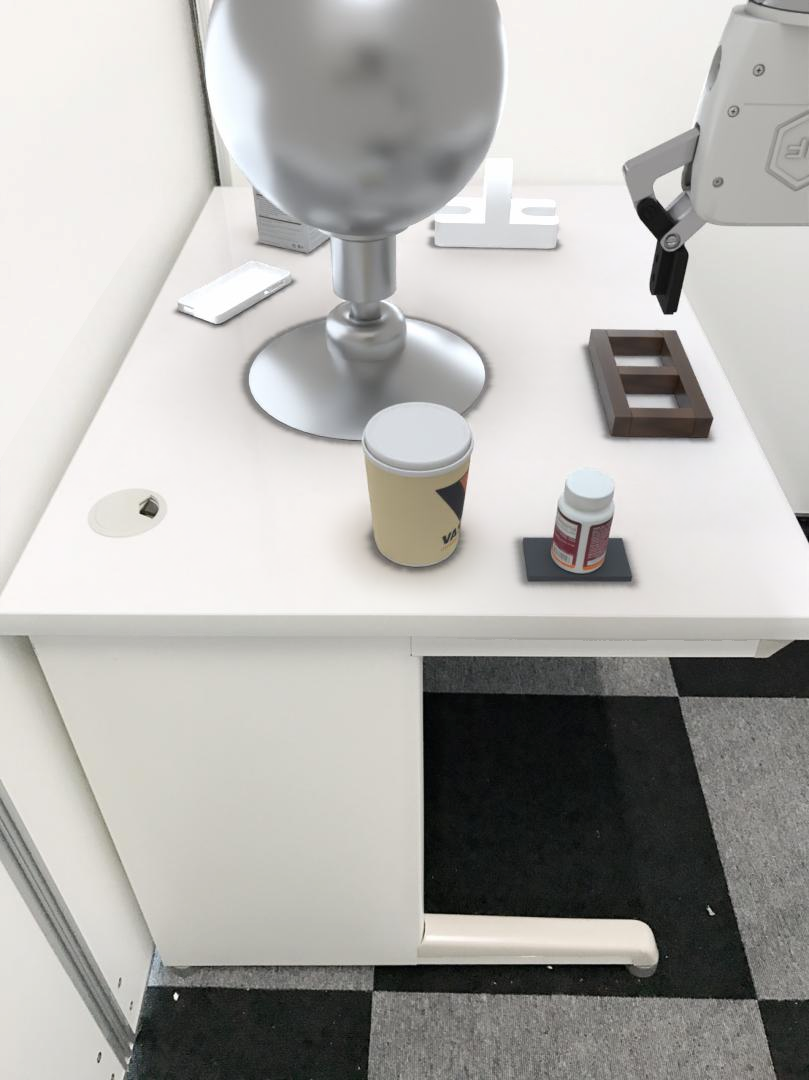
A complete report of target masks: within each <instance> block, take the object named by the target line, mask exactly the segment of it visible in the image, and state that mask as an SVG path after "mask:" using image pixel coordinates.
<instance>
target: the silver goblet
mask: <svg viewBox="0 0 809 1080" xmlns="http://www.w3.org/2000/svg"><path fill="white" fill-rule="evenodd" d="M208 15H209V16H208V20H207V26H206V32H205V40H204V75H205V83H206V91H207V97H208V101H209V106H210V109H211V112H212V116H213V119H214V123H215V125H216V128H217V131H218V133H219V135H220V138H221V139H222V142H223V144H224V146H225V148H226V150H227V152H228V153H229V156H230V157H231V158H232V160H233V162H234V164H235V165H236V167H237V168H238V170H239V171H240V172H241V173H242V175H243V176H244V177H245V179H246V180H247V181H248V183H250V185H251V186H252V185H253V187H254V188H255V189H256V190H257V191H258V192H259V193H260V194H261V195H262V196H263V197H265V198H266V199H267V200H268V201H269V202H270V203H272V204H273V205H274V206H276V207H277V208H278V209H280V210H281V211H283V212H284V213H286V214H287V215H289V216H291V217H292V218H294V219H296V220H298V221H300V222H302V223H304V224H307V225H309V226H312V227H314V228H316V229H318V230H319V231H320V232H322V233H324V234H326V235H328V236H330V238H329V247H330V262H331V263H330V264H331V280H332V292H333V294H334V295H335V296H336V297H338V298H339V299H341V300H344V301H342V302H341V303H339V304H337V305H336V306H335V307H333V309H332V310H330V312H328V314H327V316H326V319H322V320H318V321H314V322H311V323H308V324H304V325H302V326H299V327H296V328H294V329H292V330H289V331H288V332H285V333H283V334H281V335H280V336H279V337H277V338H276V339H273V340H272V341H271V342H270V343H268V344H267V345H266V346H264V348H263V349H262V350H261V351H260V352H259V353H258V355H257V356H256V357H255V359H254V360H253V362H252V364H251V367H250V368H249V374H248V386H249V389H250V392H251V394H252V396H253V399H254V400H255V401H256V403H257V404H258V405H259V407H260V408H262V410H263V411H265V412H266V413H267V414H268V415H270V416H271V417H273V418H274V419H275V420H277V421H279V422H281V423H283V424H285V425H287V426H288V427H291V428H293V429H296V430H299V431H302V432H304V433H309V434H311V435H316V436H320V437H325V438H331V439H340V440H349V441H362V434H363V431H364V429H365V428H366V426H367V424H368V422H369V420H370V419H371V418H372V417H373V416H374V415H376V414H377V413H378V412H380V411H381V410H383V409H385V408H388V407H390V406H393V405H397V404H402V403H409V402H425V403H433V404H438V405H441V406H445V407H447V408H450V409H452V410H454V411H455V412H457V413H458V414H460V415H462V414H463V413H464V412H465V411H467V410H468V409H469V408H470V407H472V405H473V404H474V403H475V401H476V400H478V398H479V396H480V394H481V393H482V391H483V388H484V385H485V382H486V370H485V365H484V363H483V360H482V358H481V357H480V355H479V354H478V352H477V351H476V350H475V348H473V347H472V345H471V344H470V343H468V341H466V340H465V339H464V338H462V337H460V336H459V335H457V334H455V333H454V332H452V331H450V330H448V329H445V328H443V327H441V326H438V325H436V324H433V323H429V322H426V321H423V320H419V319H416V318H409V317H405V314H404V313H403V311H402V310H401V309H400V308H399V307H397V306H396V305H395V304H393V303H392V302H391V301H388V300H387V299H389V298H390V297H392V296H393V295H394V294H395V293H396V291H397V235H399V234H401V233H403V232H404V231H406V230H407V229H408V228H409V227H411V226H413V225H415V224H418V223H420V222H422V221H424V220H425V219H428V218H429V217H431V216H433V215H434V214H436V212H437V211H438V210H440V209H441V208H442V207H444V206H445V205H446V204H447V203H449V202H450V201H451V200H452V199H453V198H456V197H457V196H458V195H459V194H460V192H462V191H463V190H464V188H465V187H466V186H467V185H468V184H469V182H470V181H471V180H472V179H473V177H474V176H475V175H476V174H477V172H478V170H479V169H480V167H481V165H482V164H483V162H484V160H486V157H487V155H488V153H489V152H490V149H491V147H492V146H493V142H494V140H495V137H496V136H497V133H498V129H499V126H500V123H501V119H502V116H503V112H504V108H505V103H506V96H507V89H508V78H509V77H508V75H509V59H508V57H509V56H508V46H507V45H508V44H507V38H506V37H507V36H506V32H505V27H504V22H503V17H502V14H501V11H500V8H499V3H498V2H497V0H213V1H212V4H211V7H210V11H209V14H208Z"/></svg>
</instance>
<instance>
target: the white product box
mask: <svg viewBox="0 0 809 1080" xmlns="http://www.w3.org/2000/svg"><path fill="white" fill-rule="evenodd" d="M251 188H252V194H253V195H252V196H253V203H254V210H255V219H256V227H257V233H258V243H260V244H265V245H269V246H272V247H278V248H282V249H286V250H292V251H297V252H301V253H306V254H310V253H311V252H313V251H314V250H315V249H316V248H318V247H319V246H321V245H322V244H324V243H325V242H326V241H327V240H329V239H330V236H328V235H326V234H324V233H322V232H320V231H319V230H318V229H316V228H314V227H312V226H309V225H307V224H304V223H302V222H300V221H298V220H296V219H294V218H292V217H291V216H289V215H287V214H286V213H284V212H283V211H281V210H280V209H278V208H277V207H276V206H274V205H273V204H272V203H270V202H269V201H268V200H267V199H266V198H265V197H263V196H262V195H261V194H260V193H259V192H258V191H257V190H256V189H255V188H254V187H253V185H252V184H251Z"/></svg>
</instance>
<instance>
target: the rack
mask: <svg viewBox="0 0 809 1080" xmlns="http://www.w3.org/2000/svg"><path fill="white" fill-rule="evenodd" d="M587 348H588V349H587V350H588V352H589V356H590V360H591V364H592V367H593V371H594V376H595V379H596V382H597V387H598V390H599V394H600V398H601V402H602V405H603V409H604V413H605V417H606V421H607V424H608V428H609V432H610V436H611V437H649V438H650V437H651V438H654V437H655V438H657V437H658V438H667V437H668V438H709V435H710V431H711V429H712V424H713V422H714V416H713V414H712V412H711V409H710V406H709V404H708V402H707V399H706V398H705V397H706V396H705V394H704V392H703V390H702V387H701V385H700V383H699V381H698V378H697V376H696V373H695V372H694V369H693V367H692V364H691V362H690V359H689V357H688V355H687V352H686V350H685V348H684V345H683V342H682V340H681V339H680V336H679V334H678V331H677V330H676V329H618V328H617V329H615V328H613V329H611V328H610V329H609V328H607V329H605V328H602V329H601V328H591V329H590V333H589V339H588V345H587ZM615 356H653V357H654V356H655V357H656V356H657V357H658V356H659V357H660V359H661V363H662V364H663V365H662V366H659V365H658V366H657V365H656V366H655V365H652V366H651V365H618V364H617V361H616V359H615V358H616V357H615ZM626 394H656V395H657V394H658V395H659V394H661V395H664V394H665V395H674V396H675V399H676V401H677V403H678V406H679V408H678V407H630V404H629V401H628V398H627V395H626Z"/></svg>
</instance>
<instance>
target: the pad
mask: <svg viewBox="0 0 809 1080" xmlns="http://www.w3.org/2000/svg"><path fill="white" fill-rule="evenodd" d="M552 541H553V537H523V538H522V547H523V553H524V563H525V569H526V574H527V575H526V576H527V580H528V581H531V582H533V581H535V582H536V581H539V582H541V581H543V582H545V581H547V582H548V581H549V582H551V581H552V582H555V581H556V582H573V581H574V582H631V581H632V580H633V574H632V570H631V567H630V563H629V559H628V556H627V552H626V548H625V545H624V541H623V538H622V537H609V539H608V544H607V549H606V553H605V558H604V561H603V563H602V565H601V566H600V567H599V568H598V569H596V570H594V571H592V572H589V573H574V572H570V571H567V570H564V569H562V568H561V567H559V566H558V565H557V564H556V563H555V562H554V560H553V558H552V556H551V548H552Z"/></svg>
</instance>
